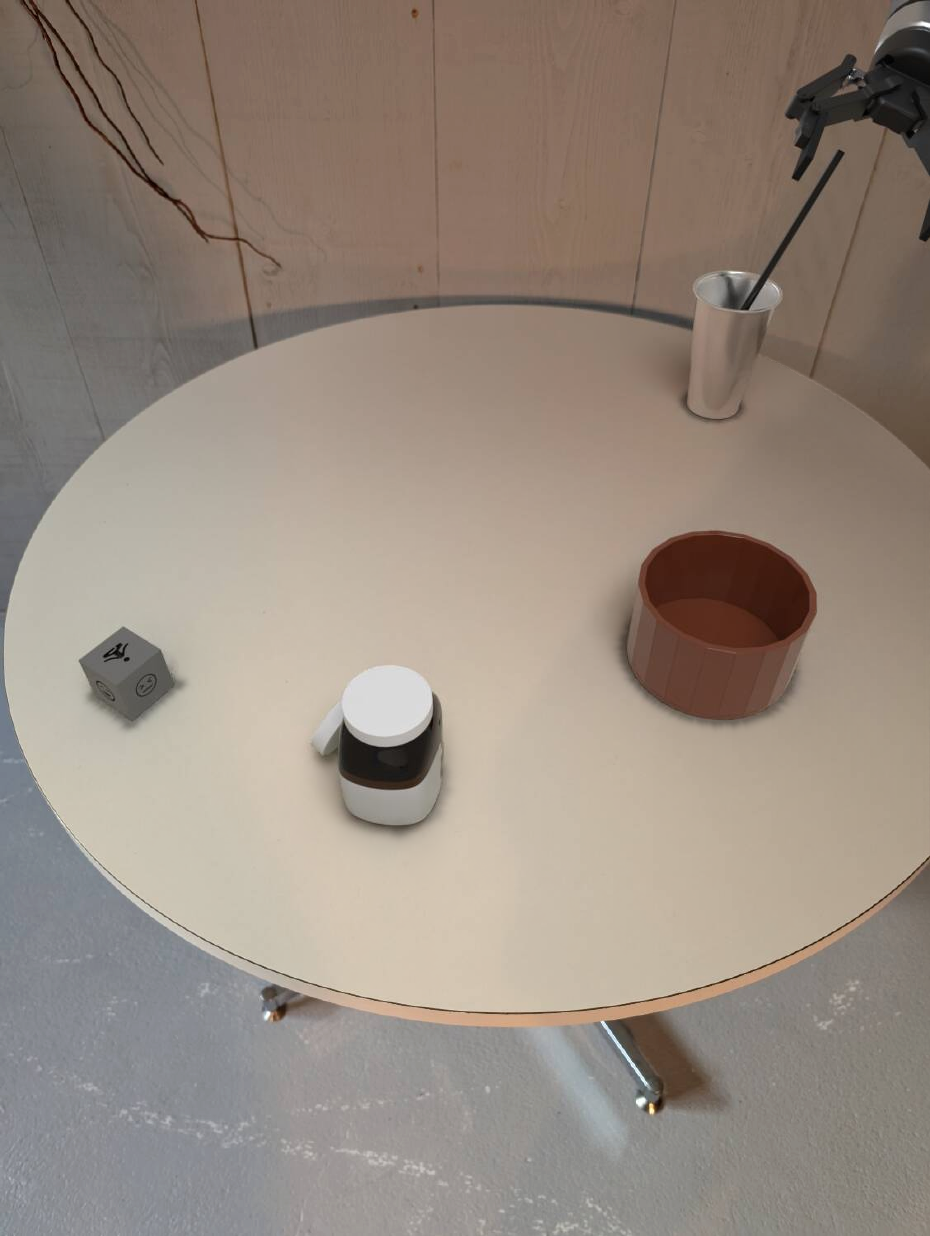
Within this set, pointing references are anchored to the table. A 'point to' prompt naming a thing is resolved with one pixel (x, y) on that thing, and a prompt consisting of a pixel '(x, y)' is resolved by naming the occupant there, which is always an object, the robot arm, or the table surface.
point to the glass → (735, 324)
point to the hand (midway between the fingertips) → (866, 199)
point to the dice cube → (127, 673)
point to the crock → (719, 623)
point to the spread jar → (386, 745)
